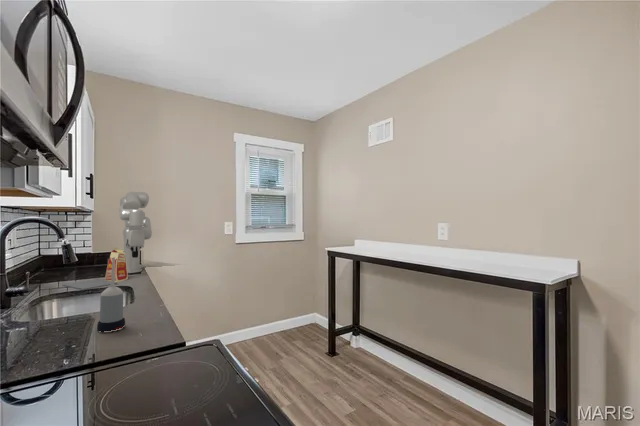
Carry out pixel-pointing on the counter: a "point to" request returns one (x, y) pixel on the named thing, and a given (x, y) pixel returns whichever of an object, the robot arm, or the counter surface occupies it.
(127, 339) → the counter surface
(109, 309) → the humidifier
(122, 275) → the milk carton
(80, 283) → the mat
